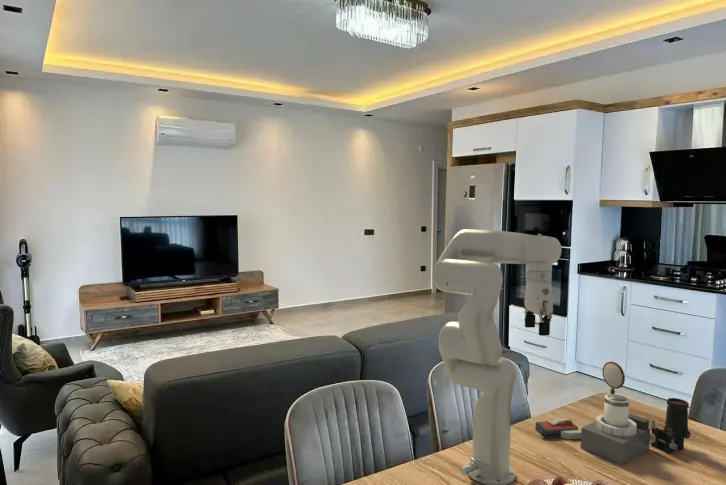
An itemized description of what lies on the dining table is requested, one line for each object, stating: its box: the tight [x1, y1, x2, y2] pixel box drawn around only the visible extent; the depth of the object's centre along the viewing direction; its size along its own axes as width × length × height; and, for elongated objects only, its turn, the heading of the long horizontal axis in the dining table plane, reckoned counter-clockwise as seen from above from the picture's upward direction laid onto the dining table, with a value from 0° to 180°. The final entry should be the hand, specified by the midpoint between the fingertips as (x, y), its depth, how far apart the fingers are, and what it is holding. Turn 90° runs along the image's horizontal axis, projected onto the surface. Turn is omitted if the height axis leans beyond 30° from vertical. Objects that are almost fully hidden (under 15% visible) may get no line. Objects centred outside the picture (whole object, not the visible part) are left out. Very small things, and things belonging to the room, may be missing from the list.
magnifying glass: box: [602, 361, 626, 394], centre depth 163 cm, size 9×2×20 cm, turn 18°
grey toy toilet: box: [580, 413, 651, 466], centre depth 146 cm, size 16×12×8 cm
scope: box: [650, 397, 692, 455], centre depth 146 cm, size 8×14×10 cm
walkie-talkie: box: [535, 417, 581, 440], centre depth 156 cm, size 9×4×20 cm
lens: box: [603, 393, 630, 428], centre depth 145 cm, size 6×6×9 cm
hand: (536, 331), depth 153 cm, fingers open, 9 cm apart
